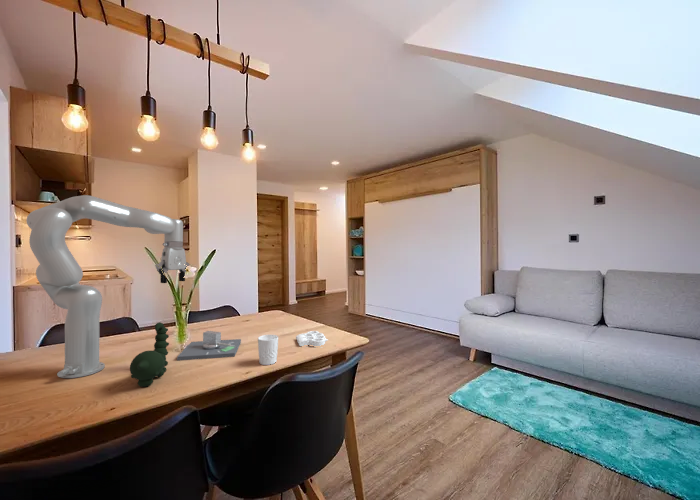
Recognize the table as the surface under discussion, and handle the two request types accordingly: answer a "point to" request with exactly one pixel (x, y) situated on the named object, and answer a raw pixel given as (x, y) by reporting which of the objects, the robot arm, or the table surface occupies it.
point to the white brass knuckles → (311, 338)
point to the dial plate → (198, 352)
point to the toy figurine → (151, 359)
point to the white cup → (267, 349)
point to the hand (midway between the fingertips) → (173, 282)
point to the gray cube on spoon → (212, 340)
